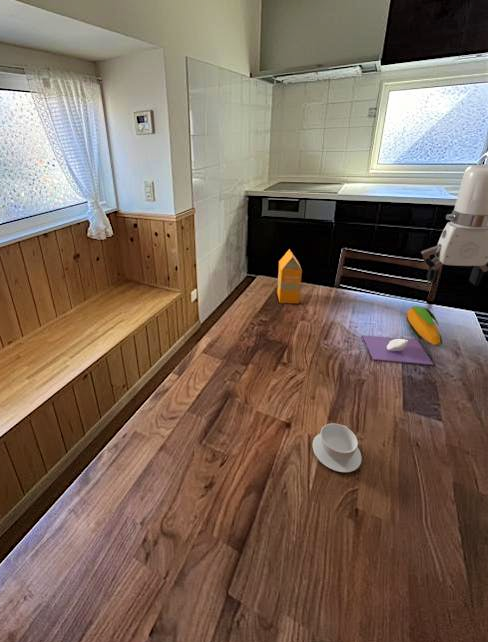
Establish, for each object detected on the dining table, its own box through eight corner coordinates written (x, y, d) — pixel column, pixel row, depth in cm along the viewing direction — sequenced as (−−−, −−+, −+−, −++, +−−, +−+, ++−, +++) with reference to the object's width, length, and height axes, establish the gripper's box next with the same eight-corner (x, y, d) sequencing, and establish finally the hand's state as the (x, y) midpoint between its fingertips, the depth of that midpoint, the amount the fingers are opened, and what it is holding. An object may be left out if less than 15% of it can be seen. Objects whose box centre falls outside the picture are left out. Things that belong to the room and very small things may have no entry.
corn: (428, 300, 116) (456, 333, 98) (424, 319, 118) (451, 354, 101) (404, 300, 117) (427, 332, 100) (401, 318, 120) (423, 353, 103)
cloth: (417, 340, 108) (417, 339, 108) (433, 365, 97) (433, 364, 97) (363, 336, 111) (363, 335, 111) (372, 360, 101) (373, 358, 101)
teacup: (352, 483, 68) (356, 467, 66) (305, 455, 74) (306, 440, 72) (367, 448, 75) (370, 433, 73) (322, 425, 81) (324, 411, 79)
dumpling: (401, 358, 100) (400, 348, 99) (383, 352, 105) (382, 342, 103) (412, 346, 103) (411, 335, 102) (395, 341, 108) (394, 330, 106)
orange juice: (295, 292, 141) (299, 248, 133) (299, 303, 133) (303, 256, 125) (276, 292, 142) (279, 248, 134) (279, 303, 134) (282, 256, 126)
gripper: (437, 223, 79) (420, 287, 86) (524, 223, 75) (499, 291, 82) (424, 214, 86) (409, 275, 93) (503, 215, 82) (482, 278, 89)
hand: (452, 282), depth 88 cm, fingers open, 9 cm apart
